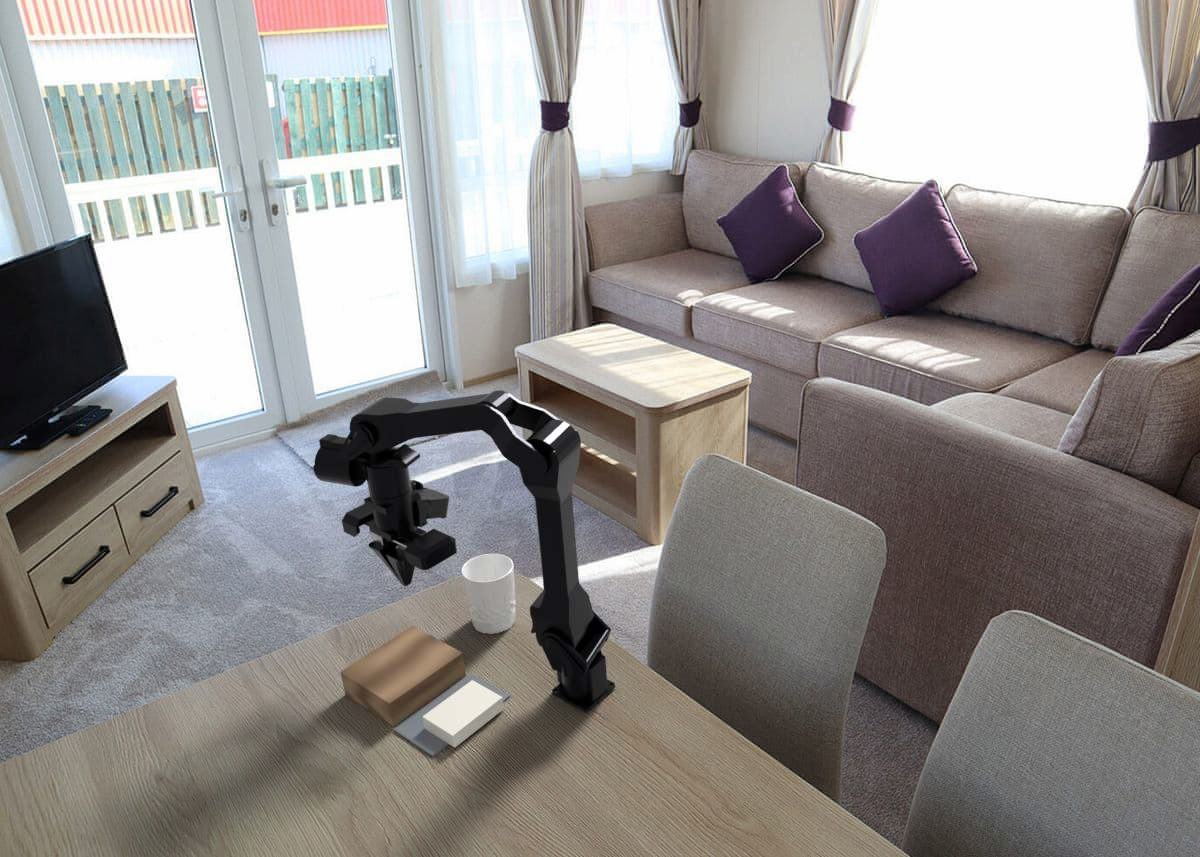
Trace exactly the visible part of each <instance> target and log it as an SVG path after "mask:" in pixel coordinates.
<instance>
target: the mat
mask: <svg viewBox="0 0 1200 857" xmlns="http://www.w3.org/2000/svg"><path fill="white" fill-rule="evenodd" d="M472 680H473V681H475V682H477V683H478V684H480V685H482V686H484V687H486V688H487V689H489V690H491V691H493V692H494V693H496V694H498V695H500V696H501V697H503V703H505V702H506V701H507V700H508V699H509V698H511V695H510V694H509V693H507V692H505V691H503V690H502V689H500V688H499V687H496V686H494V685H493V684H490V683H489V682H488V681H485V680H483V679H482V678H480V677H479V676H477V675H475V674H473V673H472V672H471V673H469V674H466V676H464V677H463V678H462V679H460V680H459V681H457V682H456V683H455V684H453V685H452V686H450V687H449V688H448V689H446V690H445V691H444V692H442V693H441V694H439V695H438V696H437V697H435V698H434V699H432V700H431V701H430V702H428V703H427V704H425V705H424V706H423V707H421V708H420V709H419V710H417V711H416V712H414V713H413V714H412V715H410V716H409V717H407V718H406V719H405V720H403V721H402V722H401V723H399V724H398V725H396V726H395V727H393V731H394V732H395V733H397V734H398V735H400V736H401V737H403V738H404V739H405V740H407V741H409V742H410V743H411V744H413V745H414V746H416V747H417V748H419V749H420V750H422V751H423V752H425V753H427V754H428V755H429V756H431V757H435V756H436V755H437V754H439V753H440V752H442V750H444V749H445V748H446V747H448V746H449V745H450V744H448V743H447V742H445V741H443V740H442V739H440V738H439V737H437V736H436V735H434V734H433V733H431V732H429V731H428V730H426V729H425V728H424V723H423V717H422V716H424V715H425V714H427V713H428V712H429V711H431V710H432V709H433V708H435V707H436V706H437V705H439V704H440V703H442V702H443V701H444V700H446V699H447V698H448V697H450V696H451V695H452V694H454V693H455V692H457V691H458V690H459V689H461V688H462V687H463V686H465V685H466V684H467V683H469V682H470V681H472Z"/></svg>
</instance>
